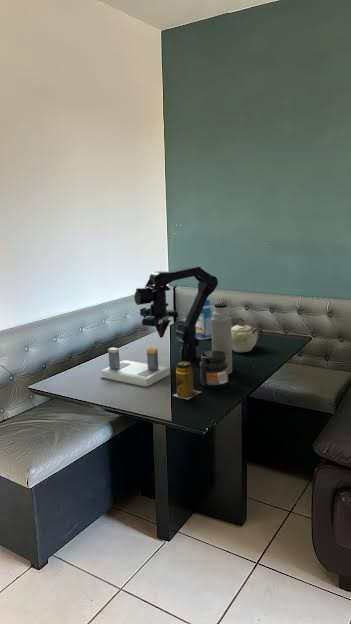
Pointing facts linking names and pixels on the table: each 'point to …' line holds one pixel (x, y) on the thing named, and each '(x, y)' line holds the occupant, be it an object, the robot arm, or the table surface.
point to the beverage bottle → (204, 322)
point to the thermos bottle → (222, 332)
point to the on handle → (114, 358)
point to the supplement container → (214, 369)
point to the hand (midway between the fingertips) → (161, 337)
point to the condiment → (185, 381)
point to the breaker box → (135, 373)
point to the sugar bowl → (244, 337)
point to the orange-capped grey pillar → (152, 358)
